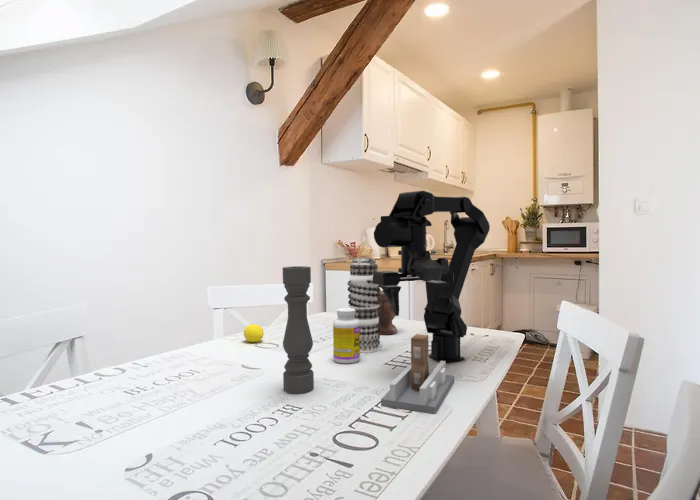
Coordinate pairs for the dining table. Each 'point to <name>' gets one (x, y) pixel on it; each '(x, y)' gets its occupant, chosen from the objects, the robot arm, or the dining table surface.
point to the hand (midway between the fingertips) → (414, 314)
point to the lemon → (253, 333)
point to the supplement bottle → (346, 336)
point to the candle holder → (297, 331)
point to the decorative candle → (365, 302)
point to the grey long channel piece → (419, 391)
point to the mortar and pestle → (385, 315)
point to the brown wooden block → (419, 360)
